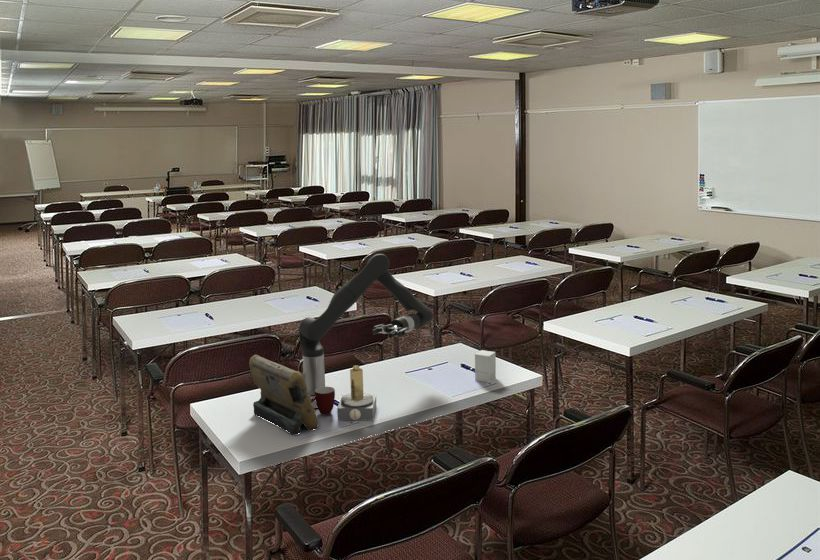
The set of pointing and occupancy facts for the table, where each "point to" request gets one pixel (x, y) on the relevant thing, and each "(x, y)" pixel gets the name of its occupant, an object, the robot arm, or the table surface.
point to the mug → (324, 399)
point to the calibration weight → (356, 383)
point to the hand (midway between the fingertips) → (380, 334)
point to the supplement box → (485, 366)
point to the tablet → (282, 396)
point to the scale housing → (357, 411)
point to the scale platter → (365, 401)
